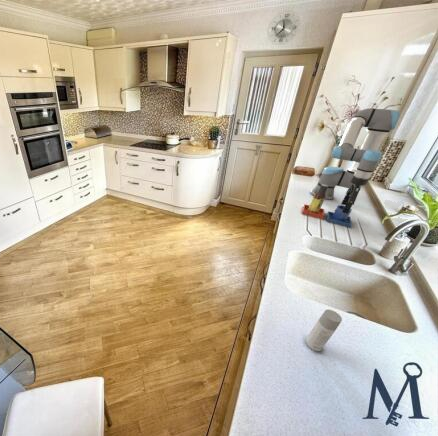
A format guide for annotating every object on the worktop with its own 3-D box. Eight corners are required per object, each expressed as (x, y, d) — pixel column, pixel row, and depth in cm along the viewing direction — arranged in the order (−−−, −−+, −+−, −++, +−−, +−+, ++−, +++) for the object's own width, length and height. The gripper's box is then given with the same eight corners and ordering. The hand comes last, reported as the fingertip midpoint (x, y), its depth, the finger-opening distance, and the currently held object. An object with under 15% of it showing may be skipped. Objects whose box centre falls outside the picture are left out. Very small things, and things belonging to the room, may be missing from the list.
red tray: (302, 207, 168) (304, 204, 167) (322, 212, 163) (324, 209, 161) (301, 213, 160) (303, 210, 158) (322, 219, 154) (324, 216, 153)
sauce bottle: (316, 215, 157) (328, 188, 147) (306, 211, 161) (317, 185, 151) (319, 212, 161) (331, 185, 151) (309, 209, 165) (320, 182, 155)
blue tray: (326, 214, 160) (328, 211, 159) (348, 219, 155) (350, 216, 153) (326, 221, 151) (328, 218, 150) (349, 227, 146) (351, 224, 144)
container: (304, 336, 80) (322, 307, 73) (319, 341, 79) (340, 312, 71) (306, 348, 77) (326, 319, 69) (322, 354, 75) (344, 324, 68)
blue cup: (331, 216, 157) (337, 204, 153) (344, 219, 154) (351, 207, 149) (331, 220, 152) (337, 208, 147) (345, 224, 148) (352, 211, 144)
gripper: (351, 170, 148) (336, 199, 159) (354, 182, 130) (337, 214, 141) (366, 172, 145) (350, 203, 156) (371, 185, 127) (352, 218, 138)
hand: (344, 208), depth 149 cm, fingers open, 13 cm apart
